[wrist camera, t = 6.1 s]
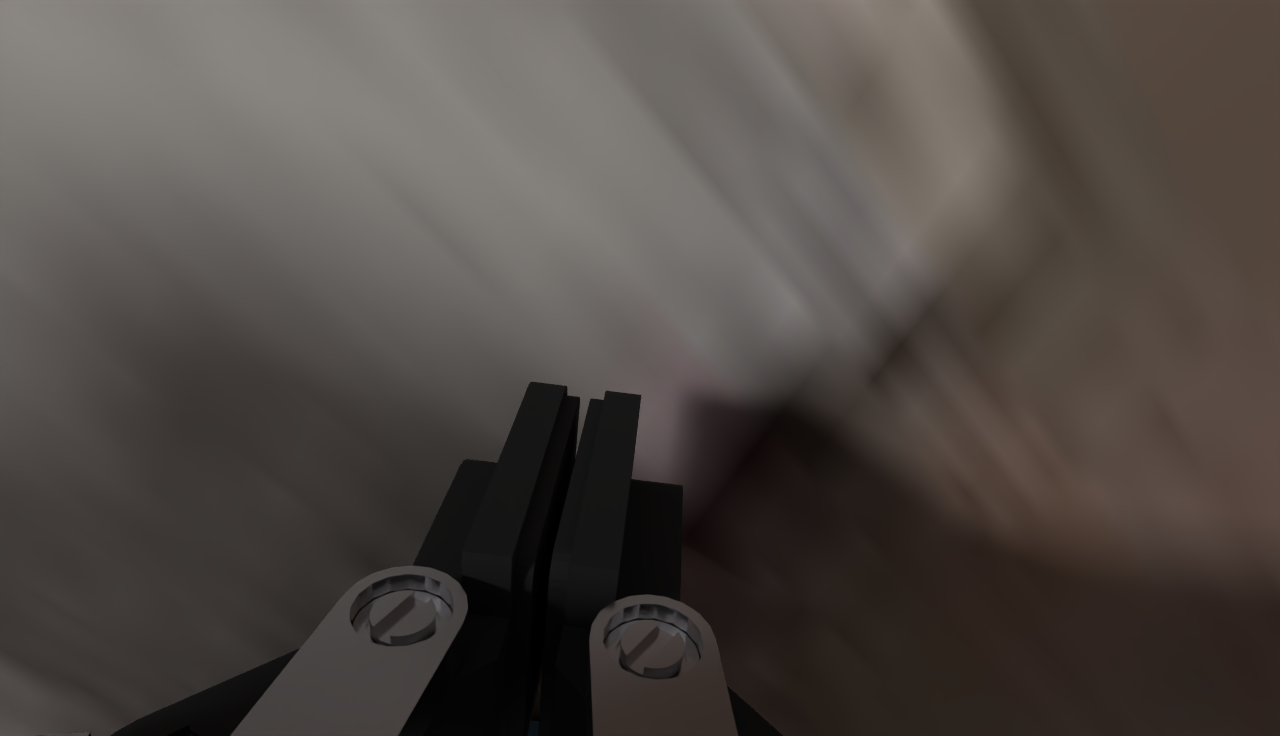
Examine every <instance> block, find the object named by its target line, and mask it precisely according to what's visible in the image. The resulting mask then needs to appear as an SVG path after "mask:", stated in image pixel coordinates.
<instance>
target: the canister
mask: <svg viewBox="0 0 1280 736" xmlns="http://www.w3.org/2000/svg"><path fill="white" fill-rule="evenodd" d="M538 728H539V721H531V722H530V726H529V731H528V736H538Z"/></svg>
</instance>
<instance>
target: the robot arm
mask: <svg viewBox="0 0 1280 736" xmlns="http://www.w3.org/2000/svg"><path fill="white" fill-rule="evenodd" d="M640 402H641V395H636V394H628V393H620V392H611V391H606V392H605V397H604V400H599V399H590V402H589V406H588V411H587V415H586V419H585V423H584V427H583V431H582V435H581V439H580V443H579V447H578V451H577V455H576V444H577V431H578V419H579V406H580V397H574V396H567V386H562V385H554V384H545V383H537V382H530V384H529V386H528V388H527V391H526V393H525V396H524V398H523V401H522V403H521V406H520V408H519V411H518V413H517V416H516V418H515V421H514V423H513V426H512V428H511V431H510V433H509V436H508V438H507V441H506V443H505V446H504V448H503V450H502V453H501V455H500V458H499V460H498V463H494V462H486V461H478V460H470V459H466V460H464V461H463V462H462V464H461V465H460V467H459V469H458V471H457V474H456V476H455V478H454V480H453V482H452V484H451V486H450V488H449V490H448V492H447V495H446V497H445V499H444V501H443V503H442V505H441V507H440V509H439V511H438V513H437V516H436V518H435V520H434V522H433V524H432V526H431V528H430V530H429V532H428V534H427V537H426V539H425V541H424V543H423V545H422V547H421V549H420V551H419V553H418V555H417V558H416V560H415V562H414V564H413V566H401V567H392V568H388V569H385V570H382V571H378V572H375V573H372V574H371V575H369V576H367V577H365V578H363V579H361V580H360V581H358V582H356V583H355V584H354V585H353V586H352V587H351V588H350V589H349V590H348V591H347V592H345V593H344V594H343V596H342V597H341V598H340V599H339V601H338V602H337V603H336V604H335V606H334V607H333V608H332V609H331V611H330V612H329V613H328V614H327V616H326V617H325V618H324V619H323V621H322V622H321V623H320V624H319V626H318V627H317V628H316V629H315V631H314V632H313V633H312V634H311V636H310V637H309V638H308V639H307V641H306V642H305V643H304V644H303V646H302V647H301V648H300V649H297V650H295V651H293V652H291V653H288V654H286V655H284V656H282V657H279V658H277V659H275V660H272V661H270V662H268V663H266V664H263V665H261V666H259V667H256V668H254V669H252V670H250V671H247V672H245V673H243V674H241V675H238V676H236V677H234V678H231V679H229V680H227V681H225V682H222V683H220V684H218V685H215V686H213V687H211V688H209V689H206V690H204V691H202V692H200V693H197V694H195V695H193V696H190V697H188V698H186V699H184V700H181V701H179V702H177V703H174V704H172V705H170V706H168V707H165V708H163V709H161V710H159V711H156V712H154V713H152V714H149V715H147V716H145V717H143V718H140V719H138V720H136V721H135V722H133V723H131V724H129V725H127V726H126V727H124V728H122V729H120V730H118V731H117V732H115V733H114V734H112V735H111V736H528V731H529V726H530V722H531V717H532V713H533V708H534V704H535V699H536V695H537V690H538V685H539V681H540V676H541V672H542V684H541V699H540V713H539V728H538V736H783V735H782V734H781V733H779V732H778V731H777V730H776V729H775V728H774V727H773V726H772V725H770V724H769V723H768V722H767V721H766V720H765V719H764V718H763V717H761V716H760V715H759V714H758V713H757V712H756V711H755V710H754V709H752V708H751V707H750V706H749V705H748V704H747V703H746V702H745V701H743V700H742V699H741V698H740V697H739V696H738V695H737V694H736V693H734V692H733V691H732V690H731V689H730V688H729V687H728V686H727V685H726V680H725V676H724V671H723V667H722V663H721V658H720V654H719V649H718V645H717V641H716V638H715V636H714V634H713V631H712V629H711V627H710V625H709V624H708V623H707V622H706V621H705V619H704V618H703V617H702V616H701V615H700V614H699V613H698V612H696V611H695V610H693V609H692V608H690V607H689V606H687V605H686V604H684V603H682V602H680V583H681V542H682V500H683V487H682V485H674V484H666V483H658V482H649V481H641V480H633V479H631V478H632V469H633V461H634V452H635V444H636V436H637V427H638V419H639V411H640ZM575 456H576V459H575ZM542 667H543V670H542ZM40 736H91V733H90V732H81V733H67V734H54V735H40Z"/></svg>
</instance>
